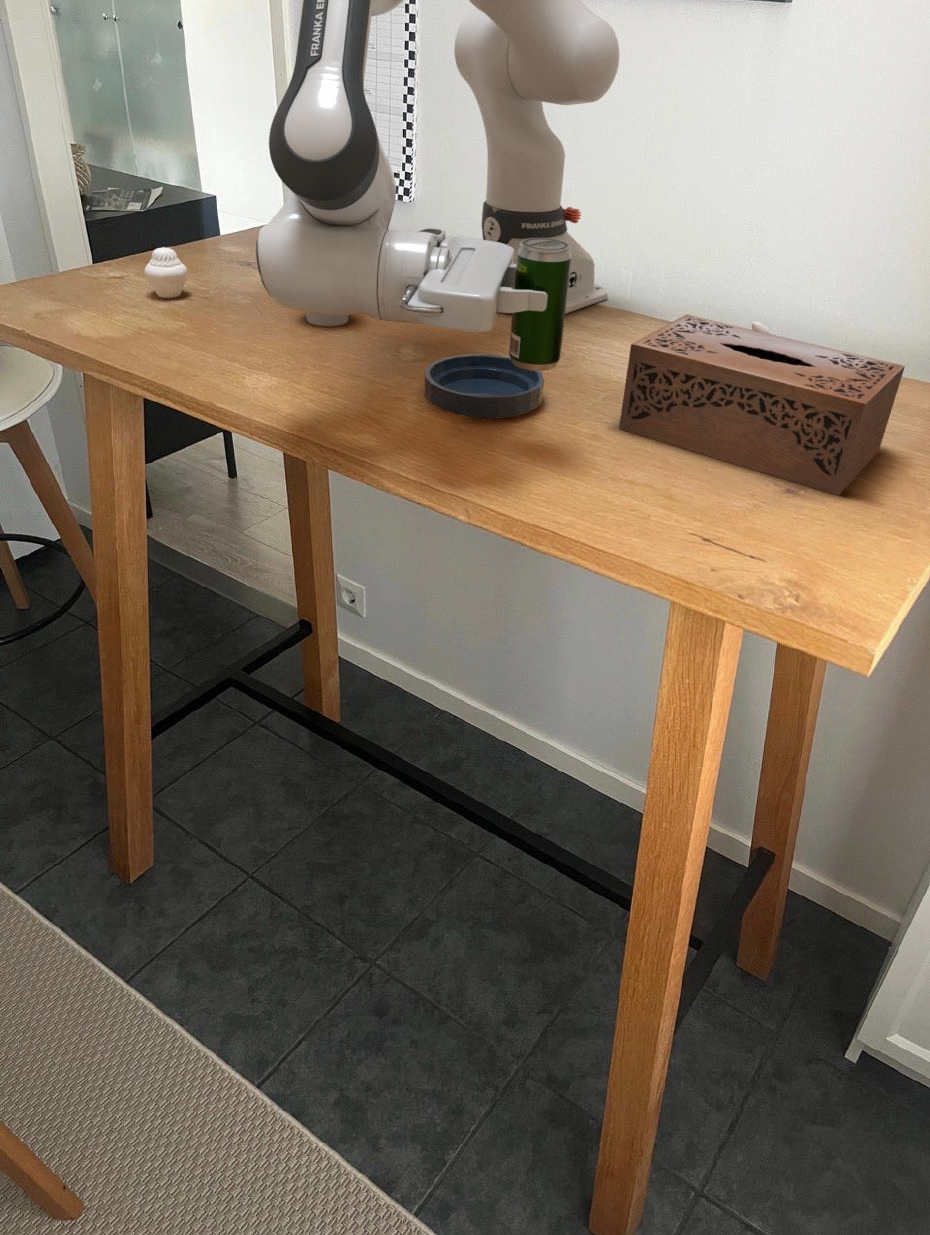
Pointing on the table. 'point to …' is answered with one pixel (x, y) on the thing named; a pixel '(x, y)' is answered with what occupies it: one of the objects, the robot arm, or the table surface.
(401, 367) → the table surface
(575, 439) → the table surface
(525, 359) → the beer can
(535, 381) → the bowl
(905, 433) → the table surface
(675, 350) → the tissue box cover
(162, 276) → the muffin
